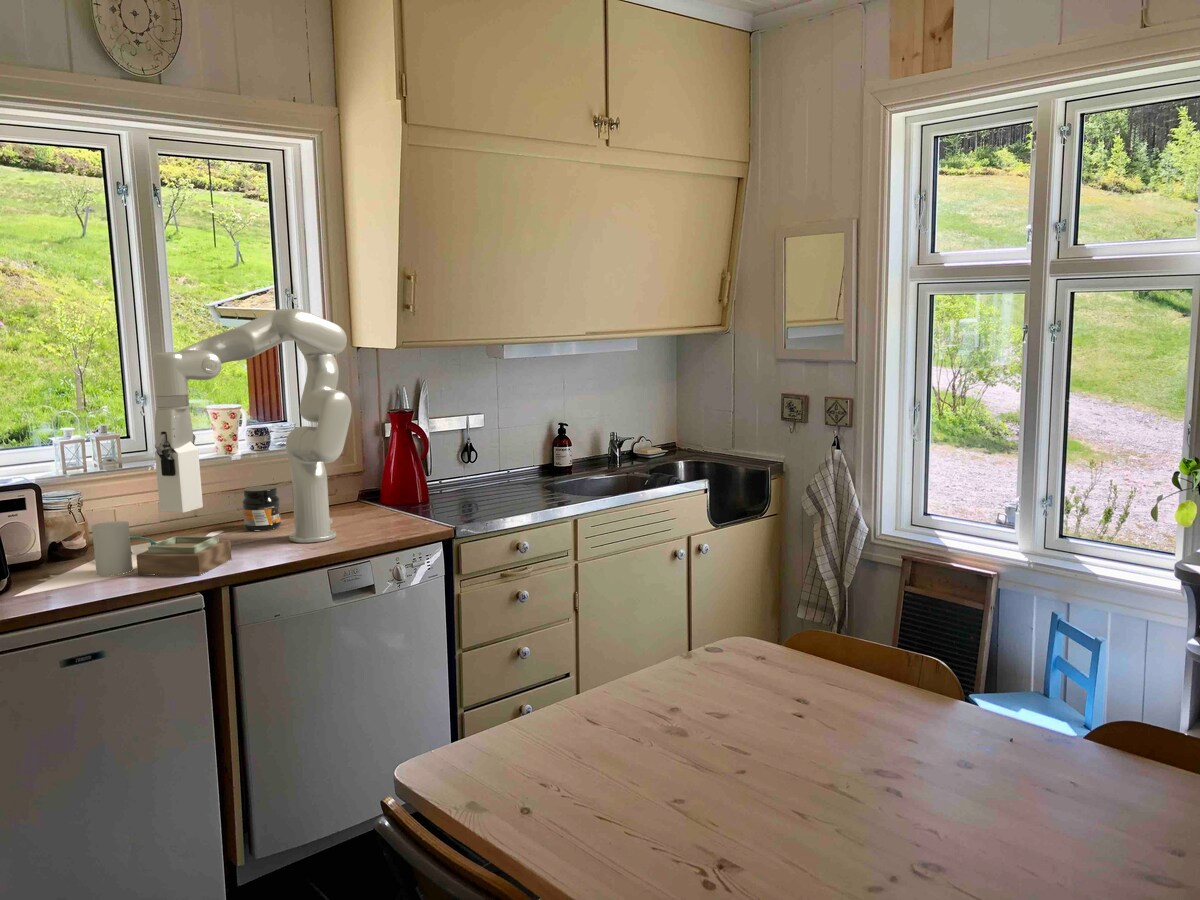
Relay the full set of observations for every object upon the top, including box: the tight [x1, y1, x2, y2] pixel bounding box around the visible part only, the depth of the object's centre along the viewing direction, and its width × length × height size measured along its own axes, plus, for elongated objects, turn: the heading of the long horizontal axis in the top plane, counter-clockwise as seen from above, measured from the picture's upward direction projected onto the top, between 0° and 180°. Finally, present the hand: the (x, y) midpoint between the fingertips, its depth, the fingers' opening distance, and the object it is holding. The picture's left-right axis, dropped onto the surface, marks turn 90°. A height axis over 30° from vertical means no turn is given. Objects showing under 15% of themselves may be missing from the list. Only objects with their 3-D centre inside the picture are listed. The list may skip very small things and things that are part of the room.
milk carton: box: [154, 441, 204, 514], centre depth 243 cm, size 7×7×19 cm
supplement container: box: [241, 485, 282, 532], centre depth 289 cm, size 10×10×12 cm
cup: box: [91, 520, 134, 577], centre depth 242 cm, size 8×8×12 cm
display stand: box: [135, 535, 233, 576], centre depth 245 cm, size 16×16×6 cm
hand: (178, 472), depth 243 cm, fingers closed on milk carton, 8 cm apart
